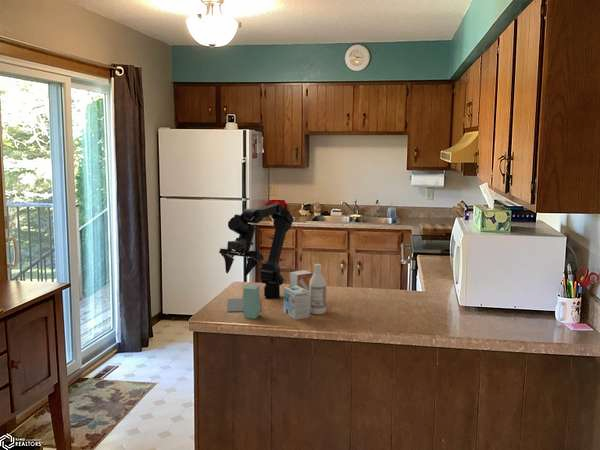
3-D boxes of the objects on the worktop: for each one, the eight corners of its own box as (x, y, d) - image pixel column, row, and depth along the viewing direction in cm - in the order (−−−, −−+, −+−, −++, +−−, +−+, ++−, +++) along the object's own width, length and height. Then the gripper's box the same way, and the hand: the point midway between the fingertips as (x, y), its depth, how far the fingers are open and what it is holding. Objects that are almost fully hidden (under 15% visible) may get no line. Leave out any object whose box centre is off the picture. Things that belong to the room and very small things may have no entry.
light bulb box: (282, 312, 222) (283, 287, 221) (297, 310, 226) (297, 285, 224) (295, 320, 213) (295, 293, 212) (310, 317, 216) (310, 291, 215)
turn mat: (259, 298, 241) (259, 298, 241) (261, 311, 224) (261, 310, 224) (227, 299, 240) (227, 298, 240) (226, 312, 222) (226, 311, 222)
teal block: (247, 313, 220) (247, 285, 219) (259, 314, 219) (259, 286, 217) (243, 317, 216) (243, 288, 214) (255, 318, 214) (255, 289, 213)
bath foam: (328, 313, 221) (329, 265, 218) (312, 315, 219) (313, 266, 216) (321, 308, 228) (322, 262, 225) (306, 310, 225) (306, 263, 222)
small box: (297, 304, 234) (297, 274, 232) (289, 300, 239) (289, 272, 237) (312, 301, 238) (312, 272, 236) (304, 298, 243) (304, 269, 241)
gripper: (216, 229, 221) (206, 266, 218) (254, 233, 212) (244, 272, 208) (231, 238, 231) (222, 273, 227) (268, 242, 221) (258, 279, 218)
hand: (235, 274), depth 220 cm, fingers open, 9 cm apart
